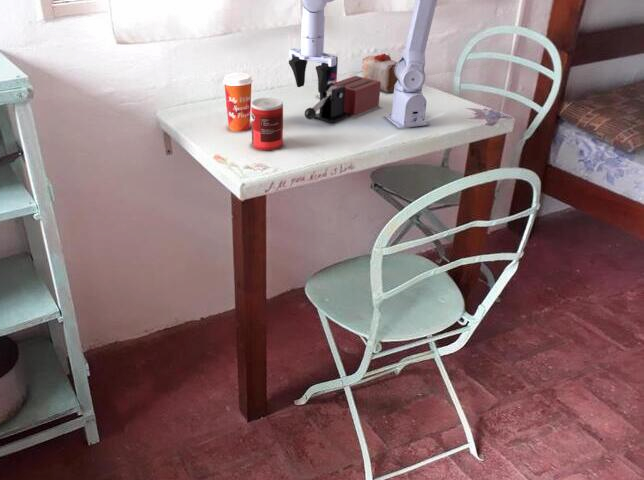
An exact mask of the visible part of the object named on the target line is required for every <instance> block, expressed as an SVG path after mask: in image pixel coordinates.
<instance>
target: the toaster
mask: <svg viewBox="0 0 644 480" xmlns="http://www.w3.org/2000/svg"><path fill="white" fill-rule="evenodd" d="M380 85H381V82H380V81H376V80H371V79H367V78H363V77H362V76H359V75H353V76H350V77H348V78H343V79H342V80H339V81H337V82H336V83H334V86H335V87H340V86H345V99H344V112H346V113H349V114H351V117H352V118H356V117H359V116H362V115H364V114H367V113H369V112H372V111H374V110H377V109H378V108H380V97H381V90H380Z"/></svg>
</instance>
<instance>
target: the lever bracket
mask: <svg viewBox="0 0 644 480" xmlns="http://www.w3.org/2000/svg"><path fill="white" fill-rule="evenodd" d="M331 86H334V83H329V84H327V88H326V90H327V89H329V88H330V87H331ZM325 96H326V92H323V93H320V97H319V101H320V100H322V99H323V98H324V97H325ZM344 99H345V86H340V87H337V88H335V89H332V97H331V100H330V99H329V100H328V101H327V102H326V103H325V104H324V105H323V106H322V107H321V108H320V109H319V112H316V115H315V117H314V118H313V119H312V120H317V121H320V122H322V123H323V122H324V123H327V124H330V125H333V124H336V123H338V122H341V121H343V120H345V119H348V118H351V117H352V116H351V114H349V113H346V112H344Z"/></svg>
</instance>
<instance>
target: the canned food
mask: <svg viewBox="0 0 644 480" xmlns="http://www.w3.org/2000/svg"><path fill="white" fill-rule="evenodd" d="M250 118H251V144H252V146H253V147H254V148H255V149H256V150H259V151H264V152H265V151H266V152H269V151H273V150H278V149H280V148H282V146H283V144H284V103H283V101H282V100H281V99H278V98H275V97H274V98H273V97H261V98H256V99H254V100H251V111H250Z"/></svg>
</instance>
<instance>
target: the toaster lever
mask: <svg viewBox="0 0 644 480" xmlns="http://www.w3.org/2000/svg"><path fill="white" fill-rule="evenodd" d="M335 88H337V87H335V86H331V87H330V88H329V89H327V90H326V96H325V97H324V98H323V99H322V100H320V99H319V101H318V102H317V103H316V104H315V105H314V106H313V107H308V108H306V109H305V110H304V117H305V118H306V119H307V120H314V119H313V118H314V117H315V115H316V114H317V111H320V108H321V107H322V106H323V105H324V104H325V103H326V102H327V101H328V100H329V99H330V100H331V97H332V89H335Z"/></svg>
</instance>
